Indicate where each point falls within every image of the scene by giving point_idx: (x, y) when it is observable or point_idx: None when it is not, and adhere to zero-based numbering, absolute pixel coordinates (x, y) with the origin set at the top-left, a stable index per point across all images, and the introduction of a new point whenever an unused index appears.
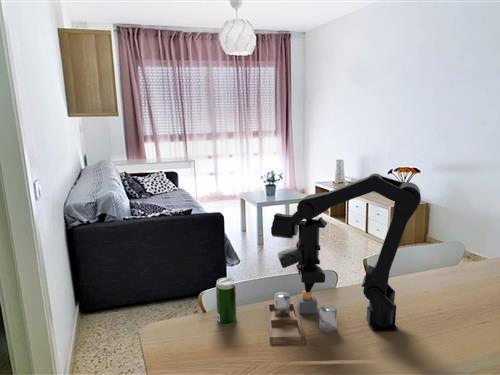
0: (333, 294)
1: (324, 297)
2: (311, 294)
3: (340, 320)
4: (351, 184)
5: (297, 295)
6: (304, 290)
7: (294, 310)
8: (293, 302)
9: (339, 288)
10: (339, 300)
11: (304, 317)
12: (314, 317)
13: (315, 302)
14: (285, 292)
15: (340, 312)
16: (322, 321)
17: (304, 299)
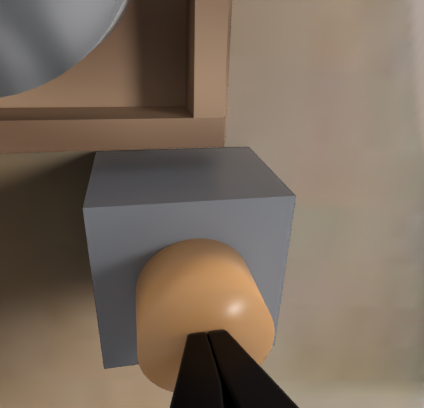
0: (361, 371)
1: (340, 329)
2: (160, 373)
3: (49, 399)
4: None
5: (276, 192)
6: (245, 317)
7: (59, 117)
8: (222, 125)
9: (414, 396)
10: (289, 395)
11: (65, 189)
12: (73, 261)
13: (102, 352)
14: (108, 4)
15: (150, 399)
16: None
17: (145, 266)
